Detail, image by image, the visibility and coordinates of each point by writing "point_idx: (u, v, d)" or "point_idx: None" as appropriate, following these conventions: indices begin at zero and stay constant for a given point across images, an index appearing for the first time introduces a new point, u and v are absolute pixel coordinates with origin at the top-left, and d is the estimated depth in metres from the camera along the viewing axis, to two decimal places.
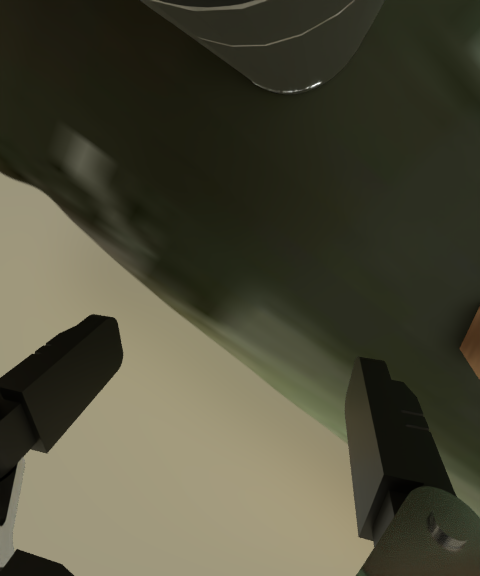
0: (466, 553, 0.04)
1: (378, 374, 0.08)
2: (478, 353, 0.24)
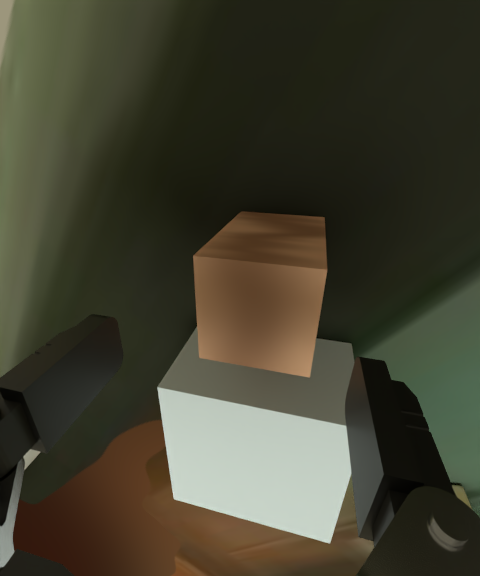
0: (466, 553, 0.04)
1: (378, 374, 0.08)
2: (257, 222, 0.16)
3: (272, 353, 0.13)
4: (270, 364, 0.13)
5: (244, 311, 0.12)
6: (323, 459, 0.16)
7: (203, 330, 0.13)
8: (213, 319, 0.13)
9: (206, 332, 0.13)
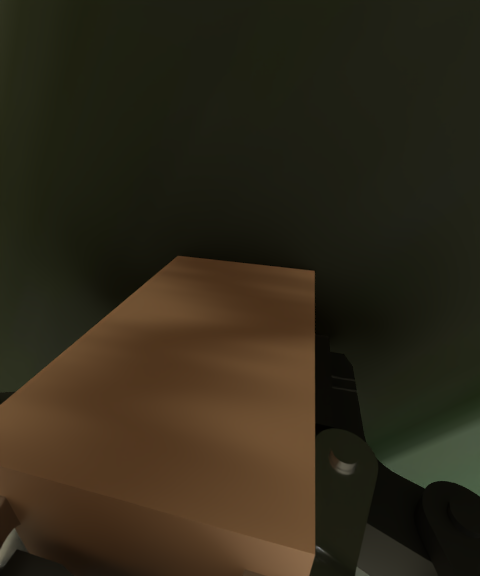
0: (352, 473, 0.05)
1: (319, 346, 0.09)
2: (192, 288, 0.09)
3: None
4: None
5: (106, 568, 0.05)
6: None
7: None
8: None
9: None
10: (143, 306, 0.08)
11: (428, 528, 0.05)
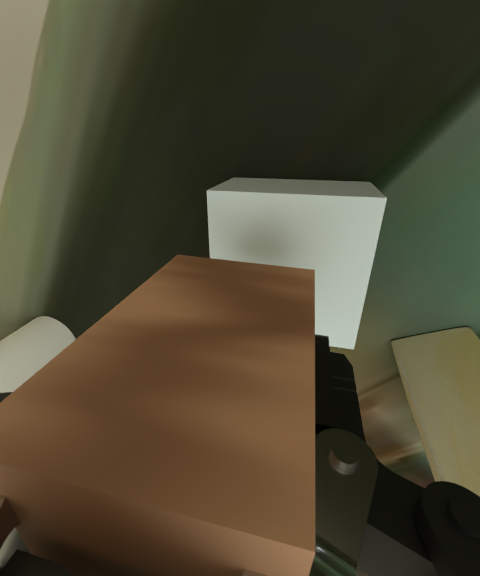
0: (352, 473, 0.05)
1: (319, 346, 0.09)
2: (191, 287, 0.09)
3: None
4: None
5: (106, 567, 0.05)
6: (350, 243, 0.19)
7: None
8: None
9: None
10: (143, 305, 0.08)
11: (428, 528, 0.05)
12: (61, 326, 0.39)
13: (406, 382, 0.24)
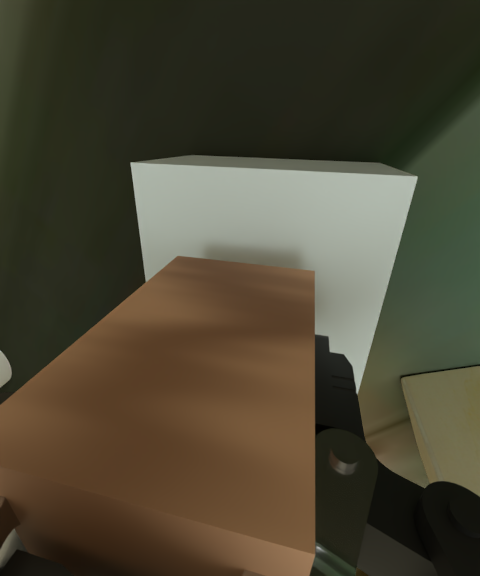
0: (352, 473, 0.05)
1: (319, 346, 0.09)
2: (191, 288, 0.09)
3: None
4: None
5: (106, 569, 0.05)
6: (354, 251, 0.12)
7: None
8: None
9: None
10: (143, 306, 0.08)
11: (428, 528, 0.05)
12: None
13: (426, 446, 0.17)
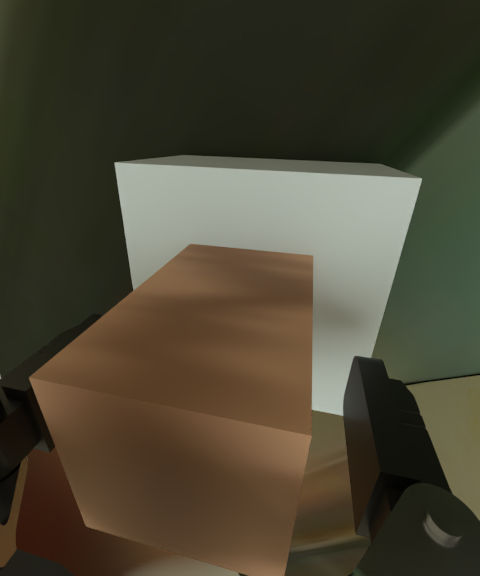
0: (461, 548, 0.04)
1: (376, 373, 0.08)
2: (205, 269, 0.10)
3: (210, 543, 0.07)
4: (209, 556, 0.07)
5: (147, 477, 0.06)
6: (353, 258, 0.11)
7: (82, 492, 0.07)
8: (95, 481, 0.06)
9: (88, 495, 0.07)
10: (165, 282, 0.09)
11: None
12: None
13: None
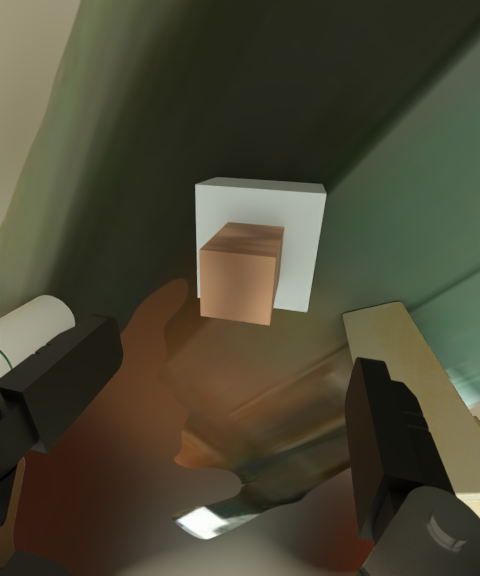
0: (466, 553, 0.04)
1: (378, 374, 0.08)
2: (238, 230, 0.24)
3: (246, 310, 0.21)
4: (245, 317, 0.21)
5: (229, 283, 0.20)
6: (301, 227, 0.25)
7: (204, 296, 0.21)
8: (210, 289, 0.20)
9: (206, 298, 0.21)
10: (224, 233, 0.23)
11: None
12: (61, 304, 0.43)
13: (349, 341, 0.31)
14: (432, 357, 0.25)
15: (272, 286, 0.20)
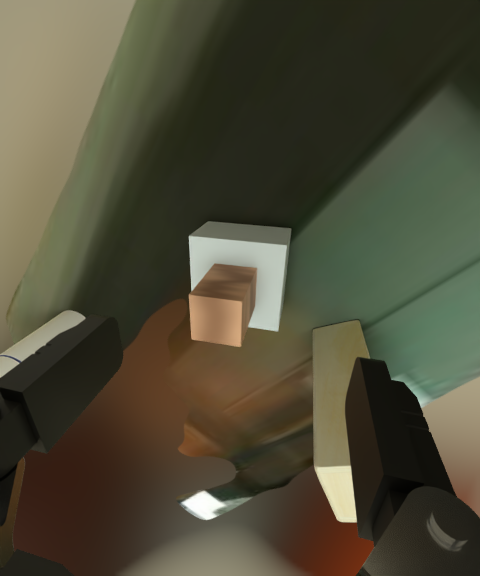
0: (466, 553, 0.04)
1: (378, 374, 0.08)
2: (221, 272, 0.32)
3: (224, 336, 0.29)
4: (223, 341, 0.29)
5: (210, 317, 0.28)
6: (270, 268, 0.33)
7: (193, 326, 0.29)
8: (198, 321, 0.28)
9: (194, 327, 0.29)
10: (209, 276, 0.31)
11: None
12: (82, 318, 0.52)
13: (313, 353, 0.38)
14: None
15: (241, 320, 0.27)
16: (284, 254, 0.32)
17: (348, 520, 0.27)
